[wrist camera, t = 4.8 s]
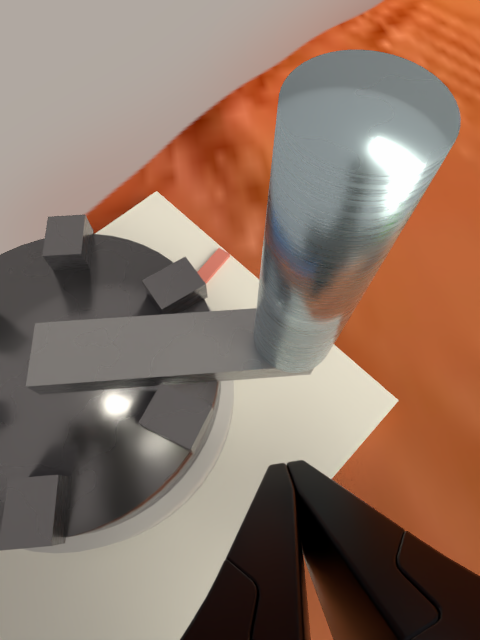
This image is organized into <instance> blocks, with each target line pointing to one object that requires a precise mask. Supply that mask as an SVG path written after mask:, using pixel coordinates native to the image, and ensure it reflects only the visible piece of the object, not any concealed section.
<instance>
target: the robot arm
mask: <svg viewBox="0 0 480 640" xmlns="http://www.w3.org/2000/svg"><path fill="white" fill-rule="evenodd" d="M303 555H304V558H305V562H306V565H307V568H308V570H309V573H310V576H311V579H312V581H313V584H314V587H315V590H316V592H317V595H318V598H319V601H320V604H321V606H322V609H323V612H324V615H325V617H326V620H327V623H328V626H329V628H330V631H331V634H332V637H333V639H334V640H480V576H479V575H477V574H475V573H473V572H472V571H470V570H468V569H467V568H465V567H463V566H461V565H460V564H458V563H456V562H455V561H453V560H451V559H449V558H448V557H446V556H444V555H443V554H441V553H440V552H438V551H437V550H435V549H434V548H432V547H431V546H429V545H428V544H426V543H424V542H423V541H421V540H420V539H419V538H417V537H416V536H414V535H413V534H411V533H410V532H408V531H405V530H404V529H403V528H401V527H400V526H399V525H397V524H396V523H394V522H393V521H391V520H390V519H388V518H387V517H385V516H384V515H383V514H381V513H380V512H378V511H377V510H375V509H374V508H372V507H371V506H369V505H368V504H367V503H365V502H364V501H362V500H361V499H359V498H358V497H356V496H355V495H354V494H352V493H351V492H349V491H348V490H346V489H345V488H343V487H342V486H340V485H339V484H338V483H336V482H335V481H333V480H332V479H330V478H329V477H327V476H326V475H324V474H323V473H322V472H320V471H319V470H317V469H316V468H314V467H313V466H311V465H310V464H308V463H307V462H306V461H304V460H297V461H291V462H288V463H287V465H286V464H285V463H278V464H272V465H269V466H268V468H267V470H266V473H265V475H264V477H263V479H262V481H261V483H260V486H259V488H258V490H257V492H256V494H255V496H254V498H253V501H252V503H251V505H250V507H249V509H248V511H247V514H246V516H245V518H244V520H243V522H242V524H241V526H240V529H239V531H238V533H237V535H236V537H235V539H234V542H233V544H232V546H231V548H230V550H229V552H228V555H227V557H226V560H224V562H223V564H222V566H221V568H220V571H219V573H218V575H217V577H216V579H215V581H214V583H213V585H212V587H211V589H210V591H209V592H208V594H207V596H206V598H205V600H204V601H203V603H202V605H201V606H200V608H199V610H198V611H197V613H196V615H195V616H194V618H193V620H192V621H191V623H190V624H189V626H188V628H187V629H186V631H185V632H184V634H183V635H182V637H181V639H180V640H311V637H310V626H309V615H308V603H307V592H306V581H305V569H304V560H303Z"/></svg>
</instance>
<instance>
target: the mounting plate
mask: <svg viewBox="0 0 480 640" xmlns="http://www.w3.org/2000/svg"><path fill="white" fill-rule="evenodd" d="M95 234H100V235H109V236H115V237H119V238H124V239H128V240H131V241H134V242H137V243H140V244H142V245H145V246H147V247H149V248H151V249H153V250H155V251H157V252H159V253H160V254H162V255H163V256H165V257H166V258H168V259H169V260H171V261H172V262H173V263H174V262H176V261H178V260H180V259H182V258H183V257H186V258H187V259H188V261H189V262H190V263H191V265H192V266H193V267H194V269H195V270H196V271H197V273H198V274H199V275H200V277H201V278H202V279H203V281H204V282H205V283H206V288H207V296H208V297H207V298H206V299H205V301H206V304H207V306H208V308H209V310H210V311H222V310H237V309H252V308H257V298H258V289H259V279H258V278H256V277H255V276H254V275H253V274H252V273H251V272H250V271H248V270H247V269H246V268H245V267H244V266H243V265H241V264H240V263H239V262H238V261H237V260H236V259H234V258H233V257H232V256H231V255H230V254H229V253H228V252H226V251H225V250H224V249H223V248H222V247H221V246H219V245H218V244H217V243H216V242H215V241H214V240H213V239H211V238H210V237H209V236H208V235H207V234H206V233H204V232H203V231H202V230H201V229H200V228H199V227H198V226H196V225H195V224H194V223H193V222H192V221H191V220H189V219H188V218H187V217H186V216H185V215H184V214H182V213H181V212H180V211H179V210H178V209H177V208H176V207H174V206H173V205H172V204H171V203H170V202H169V201H167V200H166V199H165V198H164V197H163V196H162V195H161V194H159V193H158V192H157V191H156V192H155V193H153V194H152V195H150V196H149V197H147V198H146V199H145V200H143V201H142V202H140V203H139V204H137V205H136V206H134V207H133V208H132V209H130V210H129V211H127V212H126V213H124V214H123V215H121V216H120V217H118V218H117V219H116V220H114V221H113V222H111V223H110V224H108V225H107V226H105V227H104V228H103V229H101V230H100V231H98V232H97V233H95ZM398 401H399V400H398V399H396V398H395V397H394V396H393V395H392V394H391V393H389V392H388V391H387V390H386V389H385V388H384V387H382V386H381V385H380V384H379V383H378V382H377V381H376V380H374V379H373V378H372V377H371V376H370V375H369V374H367V373H366V372H365V371H364V370H363V369H362V368H361V367H359V366H358V365H357V364H356V363H355V362H354V361H352V360H351V359H350V358H349V357H348V356H347V355H345V354H344V353H343V352H342V351H341V350H340V349H339V348H337V347H336V346H335V345H333V346H332V348H331V350H330V351H329V353H328V355H327V356H326V358H325V359H324V360H323V361H322V362H321V363H320V364H319V365H318V366H316V367H315V368H314V369H313V371H312V372H311V374H310V375H298V376H284V377H271V378H258V379H244V380H231V381H221V393H220V400H219V407H218V411H217V415H216V418H215V422H214V425H213V428H212V430H211V432H210V435H209V437H208V440H207V442H206V444H205V446H204V447H203V449H202V451H201V453H200V454H199V456H198V458H197V460H196V461H195V462H194V464H193V465H192V466H191V468H190V469H189V470H188V472H187V473H186V474H185V476H184V477H183V478H182V479H181V480H180V481H179V482H178V483H177V484H176V485H175V486H174V487H173V489H172V490H171V491H170V492H169V493H167V494H166V495H165V496H164V497H162V498H161V499H160V500H159V501H157V502H156V503H155V504H154V505H153V506H151V507H150V508H148V509H146V510H145V511H143V512H141V513H140V514H138V515H137V516H135V517H133V518H131V519H129V520H127V521H125V522H122V523H120V524H118V525H116V526H114V527H111V528H107V529H104V530H101V531H98V532H94V533H90V534H84V535H78V536H72V537H66V541H65V543H64V544H59V545H54V546H46V547H35V548H24V549H13V550H2V551H0V640H180V639H181V637H182V635H183V634H184V632H185V631H186V629H187V628H188V626H189V624H190V623H191V621H192V620H193V618H194V616H195V615H196V613H197V611H198V610H199V608H200V606H201V605H202V603H203V601H204V600H205V598H206V596H207V594H208V592H209V591H210V589H211V587H212V585H213V583H214V581H215V579H216V577H217V575H218V573H219V571H220V568H221V566H222V564H223V562H224V560H226V557H227V555H228V552H229V550H230V548H231V546H232V544H233V542H234V539H235V537H236V535H237V533H238V531H239V529H240V526H241V524H242V522H243V520H244V518H245V516H246V514H247V511H248V509H249V507H250V505H251V503H252V501H253V498H254V496H255V494H256V492H257V490H258V488H259V486H260V483H261V481H262V479H263V477H264V475H265V473H266V470H267V468H268V466H269V465H272V464H278V463H285V464H286V465H287V463H288V462H291V461H297V460H304V461H306V462H307V463H308V464H310V465H311V466H313V467H314V468H316V469H317V470H319V471H320V472H322V473H323V474H324V475H326V476H327V477H329V478H330V479H332V478H333V477H334V475H335V474H336V473H337V472H338V471H339V470H340V468H341V467H342V466H343V465H344V464H345V463H346V461H347V460H348V459H349V458H350V457H351V456H352V454H353V453H354V452H355V451H356V450H357V449H358V447H359V446H360V445H361V444H362V443H363V442H364V440H365V439H366V438H367V437H368V436H369V435H370V433H371V432H372V431H373V430H374V429H375V428H376V426H377V425H378V424H379V423H380V422H381V421H382V419H383V418H384V417H385V416H386V415H387V413H388V412H389V411H390V410H391V409H392V408H393V406H394V405H395V404H396V403H397V402H398Z"/></svg>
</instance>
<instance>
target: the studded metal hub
mask: <svg viewBox="0 0 480 640" xmlns="http://www.w3.org/2000/svg"><path fill="white" fill-rule="evenodd" d="M459 129H460V112H459V108H458V105H457V102H456V100H455V99H454V97H453V95H452V93H451V92H450V91H449V89H448V88H447V87H446V86H445V85H444V84H443V83H442V82H441V81H440V80H439V79H438V78H437V77H436V76H435V75H433V74H432V73H431V72H429V71H428V70H426V69H425V68H423V67H421V66H419V65H417V64H415V63H413V62H411V61H409V60H406V59H404V58H401V57H398V56H395V55H391V54H387V53H383V52H377V51H370V50H342V51H336V52H330V53H326V54H323V55H319V56H317V57H314V58H312V59H310V60H308V61H306V62H304V63H302V64H301V65H300V66H298V67H297V68H296V69H294V70H293V71H292V72H291V73H290V74H289V76H288V77H287V78H286V80H285V81H284V83H283V85H282V87H281V90H280V93H279V101H278V110H277V120H276V129H275V138H274V148H273V157H272V167H271V176H270V185H269V195H268V204H267V214H266V223H265V232H264V242H263V251H262V261H261V270H260V280H259V289H258V298H257V308H252V309H237V310H222V311H210V310H209V308H208V306H207V304H206V301H205V299H206V298H207V297H208V296H207V288H206V283H205V282H204V281H203V279H202V278H201V277H200V275H199V274H198V273H197V271H196V270H195V269H194V267H193V266H192V265H191V263H190V262H189V261H188V259H187V258H186V257H183V258H182V259H180V260H178V261H176V262H174V263H173V262H172V261H171V260H169V259H168V258H166V257H165V256H163V255H162V254H160V253H159V252H157V251H155V250H153V249H151V248H149V247H147V246H145V245H142V244H140V243H137V242H134V241H131V240H128V239H124V238H119V237H115V236H109V235H100V234H93V229H92V227H91V225H90V223H89V221H88V219H87V217H86V216H85V215H73V216H54V217H48V221H47V228H46V234H45V239H41V240H38V241H34V242H31V243H28V244H25V245H21V246H19V247H17V248H14V249H12V250H10V251H7V252H5V253H3V254H1V255H0V551H2V550H13V549H24V548H35V547H46V546H54V545H59V544H64V543H65V541H66V537H72V536H78V535H84V534H90V533H94V532H98V531H101V530H104V529H107V528H111V527H114V526H116V525H118V524H120V523H122V522H125V521H127V520H129V519H131V518H133V517H135V516H137V515H138V514H140V513H141V512H143V511H145V510H146V509H148V508H150V507H151V506H153V505H154V504H155V503H156V502H157V501H159V500H160V499H161V498H162V497H164V496H165V495H166V494H167V493H169V492H170V491H171V490H172V489H173V487H174V486H175V485H176V484H177V483H178V482H179V481H180V480H181V479H182V478H183V477H184V476H185V474H186V473H187V472H188V470H189V469H190V468H191V466H192V465H193V464H194V462H195V461H196V460H197V458H198V456H199V454H200V453H201V451H202V449H203V447H204V446H205V444H206V442H207V440H208V437H209V435H210V432H211V430H212V428H213V425H214V422H215V418H216V415H217V411H218V407H219V400H220V393H221V381H231V380H244V379H258V378H271V377H284V376H298V375H310V374H311V372H312V371H313V369H314V368H315V367H316V366H318V365H319V364H320V363H321V362H322V361H323V360H324V359H325V358H326V356H327V355H328V353H329V351H330V350H331V348H332V346H333V345H334V343H335V341H336V340H337V338H338V336H339V335H340V333H341V331H342V330H343V328H344V326H345V325H346V323H347V321H348V320H349V318H350V316H351V315H352V313H353V311H354V309H355V308H356V306H357V304H358V303H359V301H360V299H361V298H362V296H363V294H364V293H365V291H366V289H367V288H368V286H369V284H370V283H371V281H372V279H373V278H374V276H375V274H376V273H377V271H378V269H379V268H380V266H381V264H382V263H383V261H384V259H385V258H386V256H387V254H388V253H389V251H390V249H391V248H392V246H393V244H394V243H395V241H396V239H397V238H398V236H399V234H400V233H401V231H402V229H403V228H404V226H405V224H406V223H407V221H408V219H409V218H410V216H411V214H412V213H413V211H414V209H415V208H416V206H417V204H418V203H419V201H420V199H421V198H422V196H423V194H424V193H425V191H426V189H427V187H428V186H429V184H430V182H431V181H432V179H433V177H434V176H435V174H436V172H437V171H438V169H439V167H440V166H441V164H442V162H443V161H444V159H445V157H446V156H447V154H448V152H449V151H450V149H451V147H452V146H453V144H454V142H455V140H456V138H457V136H458V134H459Z"/></svg>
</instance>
